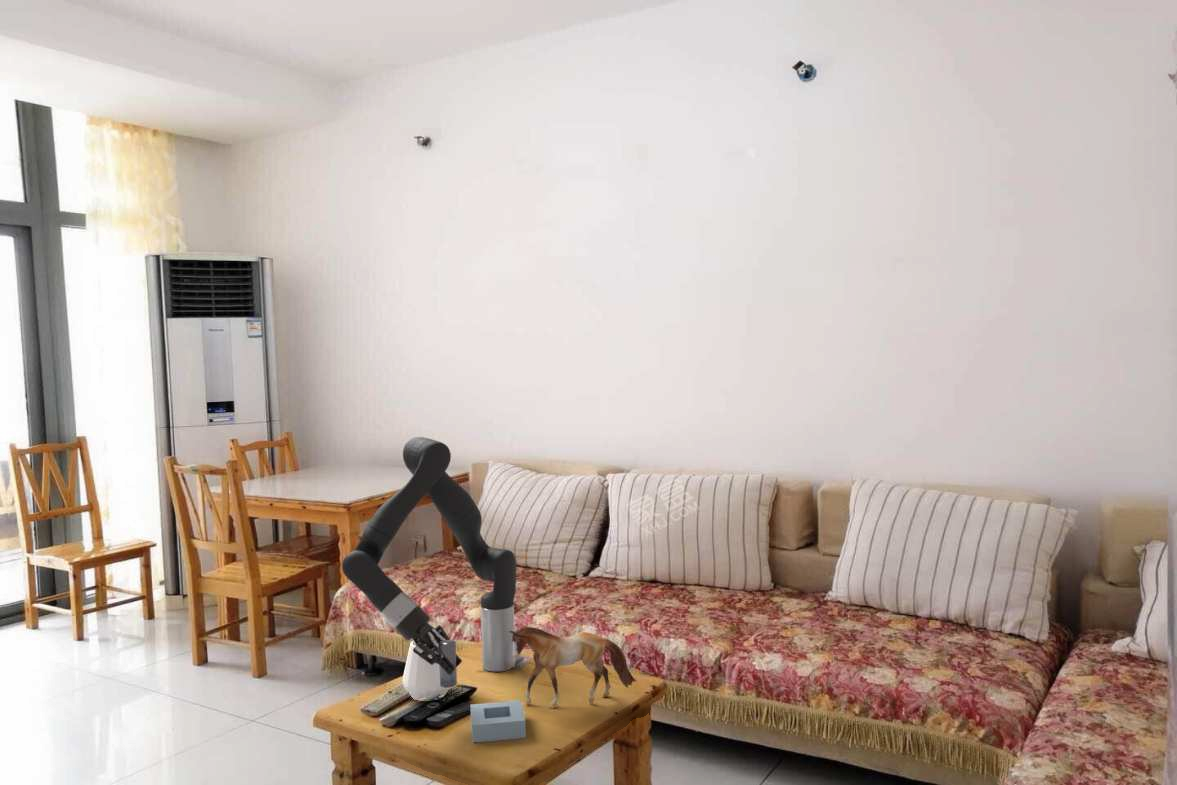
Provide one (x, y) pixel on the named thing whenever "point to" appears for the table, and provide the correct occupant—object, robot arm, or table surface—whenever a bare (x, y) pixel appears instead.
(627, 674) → the horse figurine
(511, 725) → the socket block
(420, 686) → the white tapered hollow vessel
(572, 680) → the table surface
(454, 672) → the pin
